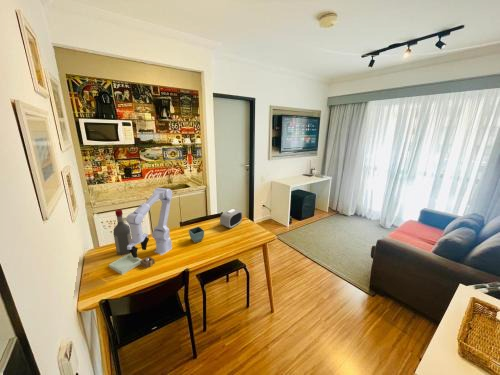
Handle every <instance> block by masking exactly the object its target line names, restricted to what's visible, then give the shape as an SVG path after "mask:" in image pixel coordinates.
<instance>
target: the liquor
mask: <svg viewBox="0 0 500 375" xmlns="http://www.w3.org/2000/svg"><path fill="white" fill-rule="evenodd" d="M115 216H116V220H117V223H116V225H115V227H114V228H113V232H112V233H113V238H114V239H113V240H114V245H115V249H116V250H115V251H116V254H117V256H122V257H123V256H126V255H127V254H129V253H130V251H129V250H127V246H128V245H129V244H130V242H131V239H132V237H131V230H130V226H129V224H126V223H125V222H124V218H123V210H122V209H115ZM130 254H131V253H130Z"/></svg>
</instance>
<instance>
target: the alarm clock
mask: <svg viewBox="0 0 500 375" xmlns="http://www.w3.org/2000/svg"><path fill="white" fill-rule="evenodd" d="M243 214H244V213H243V211H242V210H239V209H235V208H230V209H229V210H226V211H224V212H223V213H221V215H220V217H219V223H220V225H221V226H224V227H226V228H229V229H232V228H234V227H236V226H238V225H239V224H240V223H241V222H242V220H243Z"/></svg>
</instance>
